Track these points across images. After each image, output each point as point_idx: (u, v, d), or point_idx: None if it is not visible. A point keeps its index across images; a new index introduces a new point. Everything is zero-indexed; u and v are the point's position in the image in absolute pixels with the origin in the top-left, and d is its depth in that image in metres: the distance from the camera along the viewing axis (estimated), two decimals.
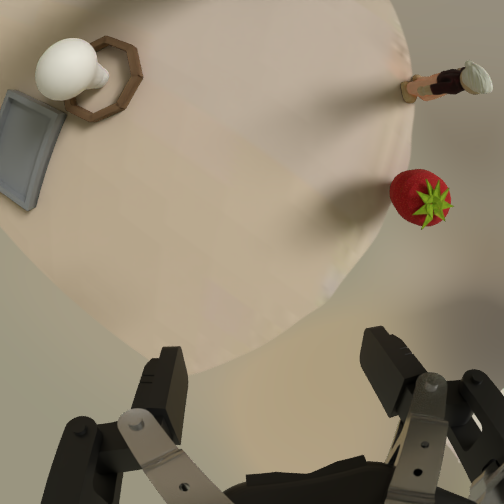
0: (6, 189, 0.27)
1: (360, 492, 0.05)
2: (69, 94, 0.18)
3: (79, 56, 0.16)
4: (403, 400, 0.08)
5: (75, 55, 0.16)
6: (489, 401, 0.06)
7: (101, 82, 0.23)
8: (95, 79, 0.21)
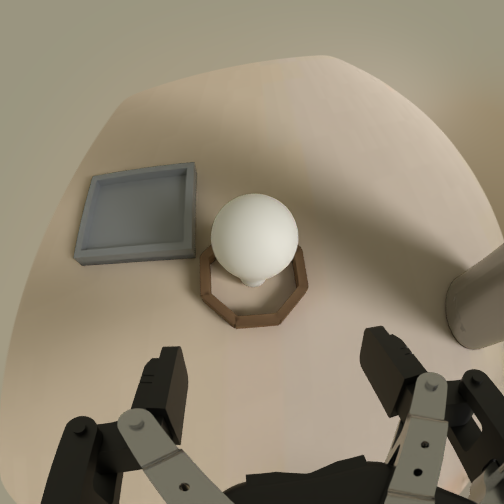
0: (88, 216, 0.29)
1: (360, 492, 0.05)
2: (228, 264, 0.19)
3: (282, 250, 0.18)
4: (403, 400, 0.08)
5: (281, 244, 0.18)
6: (489, 401, 0.06)
7: (251, 283, 0.25)
8: None
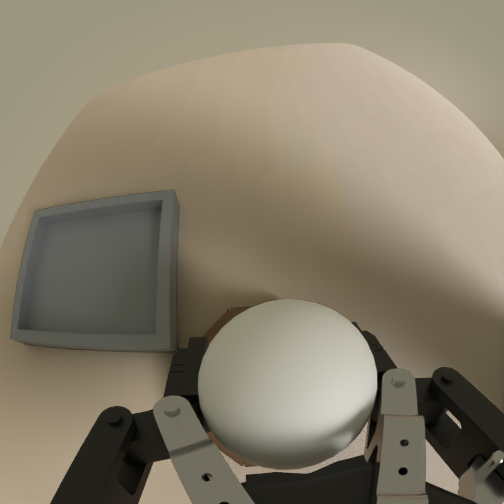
0: (26, 275, 0.17)
1: (360, 492, 0.05)
2: (236, 455, 0.08)
3: (351, 439, 0.07)
4: None
5: (352, 433, 0.07)
6: (465, 398, 0.06)
7: None
8: None
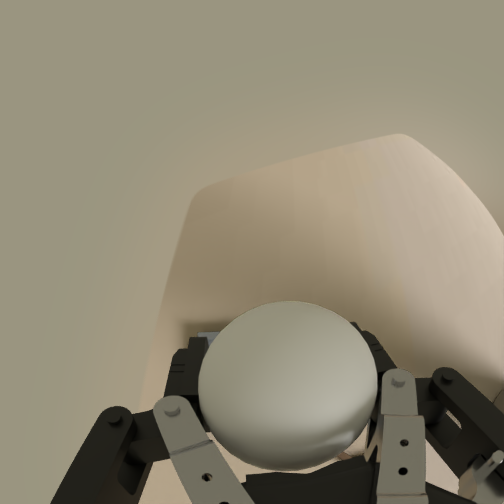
0: None
1: (360, 492, 0.05)
2: (237, 457, 0.08)
3: (351, 441, 0.07)
4: None
5: (353, 434, 0.07)
6: (464, 398, 0.06)
7: None
8: None
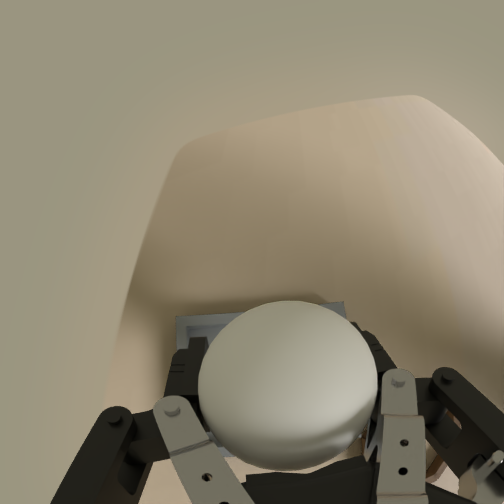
0: None
1: (360, 492, 0.05)
2: (236, 456, 0.08)
3: (351, 440, 0.07)
4: None
5: (353, 434, 0.07)
6: (464, 398, 0.06)
7: None
8: None
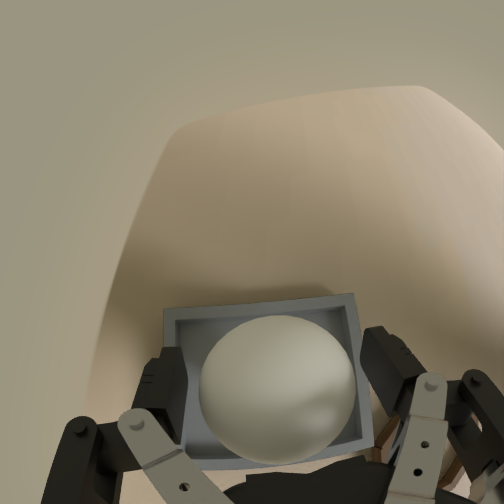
0: None
1: (360, 492, 0.05)
2: None
3: (332, 438, 0.08)
4: (403, 400, 0.08)
5: (332, 432, 0.08)
6: (489, 401, 0.06)
7: None
8: None
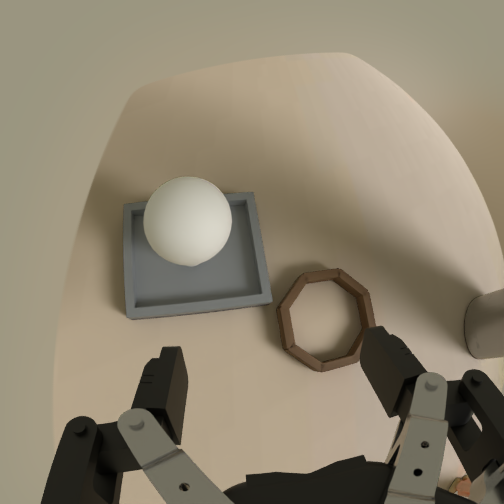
0: (131, 261, 0.25)
1: (360, 492, 0.05)
2: (161, 252, 0.18)
3: (213, 236, 0.18)
4: (403, 400, 0.08)
5: (212, 230, 0.18)
6: (489, 401, 0.06)
7: None
8: None
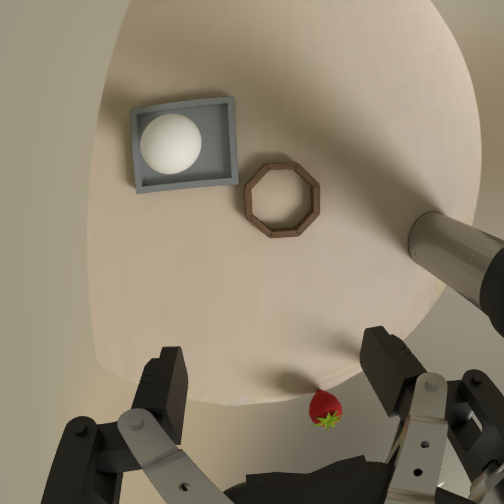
0: (138, 153, 0.33)
1: (360, 492, 0.05)
2: (153, 168, 0.27)
3: (184, 161, 0.26)
4: (403, 400, 0.08)
5: (183, 159, 0.25)
6: (489, 401, 0.06)
7: None
8: None
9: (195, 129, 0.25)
